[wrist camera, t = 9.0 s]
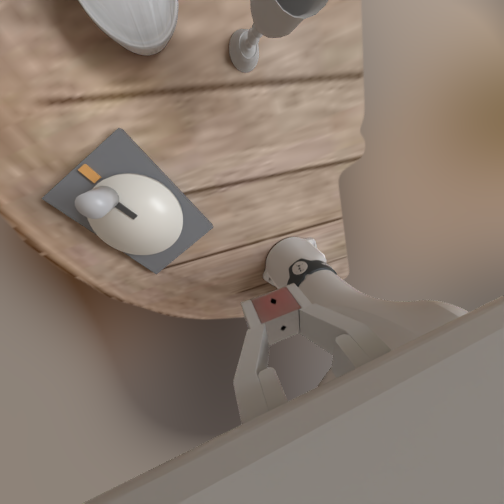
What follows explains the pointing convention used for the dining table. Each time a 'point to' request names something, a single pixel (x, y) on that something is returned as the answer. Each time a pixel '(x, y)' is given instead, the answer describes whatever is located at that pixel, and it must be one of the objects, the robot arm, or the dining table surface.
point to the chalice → (268, 27)
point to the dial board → (118, 162)
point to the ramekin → (135, 22)
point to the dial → (133, 213)
